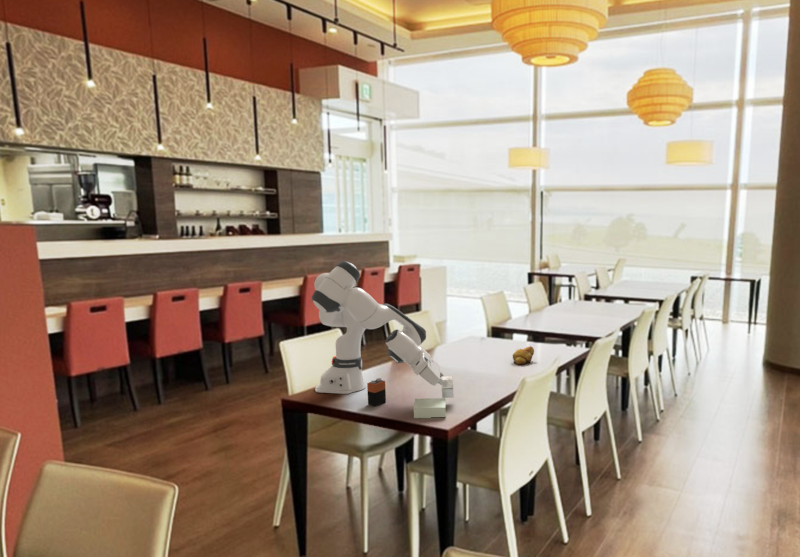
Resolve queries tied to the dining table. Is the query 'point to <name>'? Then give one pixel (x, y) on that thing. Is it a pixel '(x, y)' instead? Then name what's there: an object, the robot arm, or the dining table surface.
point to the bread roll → (523, 355)
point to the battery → (376, 392)
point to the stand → (429, 408)
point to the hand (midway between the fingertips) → (446, 383)
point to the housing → (447, 387)
